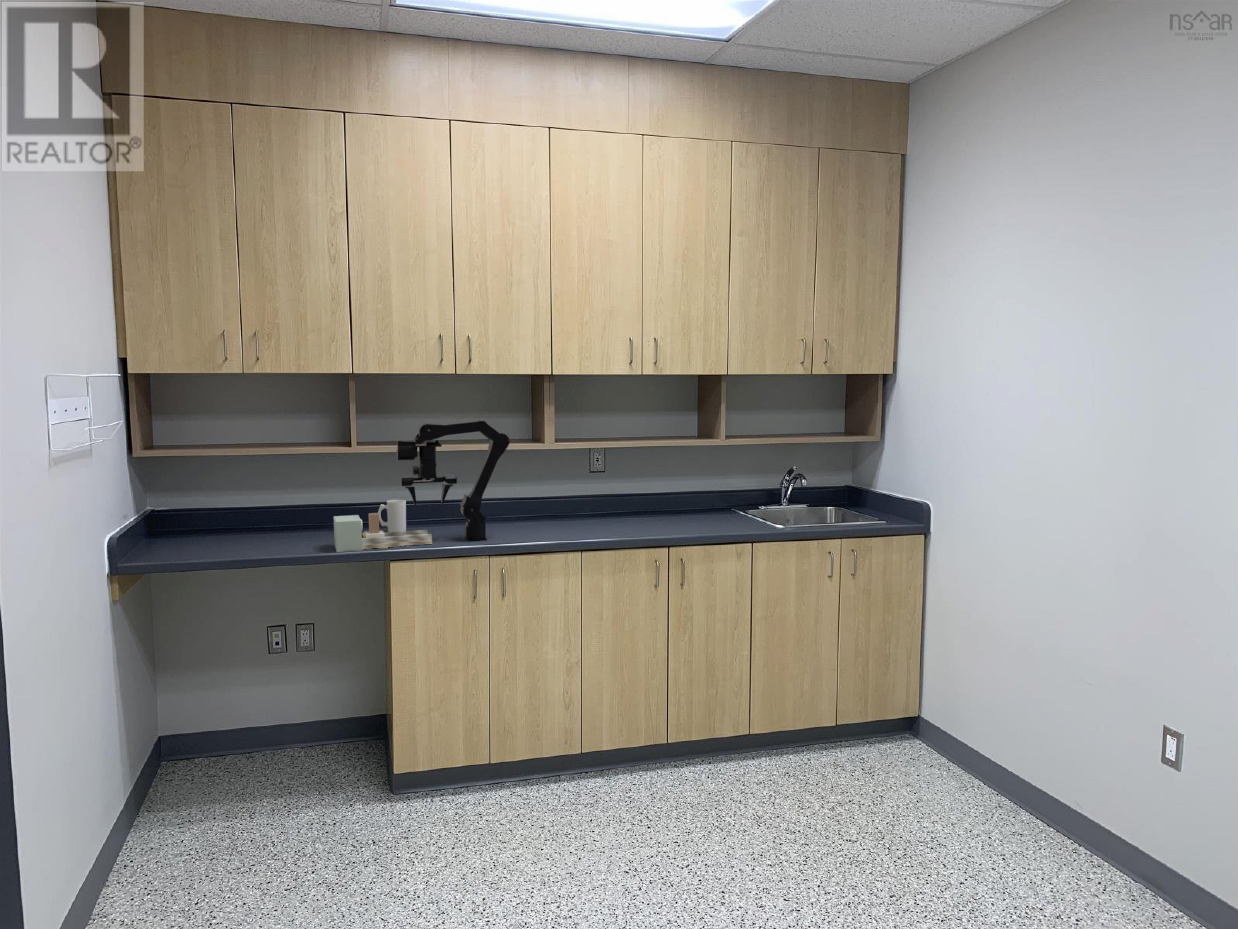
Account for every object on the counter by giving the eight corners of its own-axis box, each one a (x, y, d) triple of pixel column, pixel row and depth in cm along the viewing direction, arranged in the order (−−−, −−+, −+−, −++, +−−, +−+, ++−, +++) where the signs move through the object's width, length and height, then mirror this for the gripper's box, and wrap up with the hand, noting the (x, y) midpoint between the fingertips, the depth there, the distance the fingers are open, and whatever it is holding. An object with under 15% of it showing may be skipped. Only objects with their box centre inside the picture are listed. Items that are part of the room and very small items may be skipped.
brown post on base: (382, 539, 286) (381, 512, 285) (384, 542, 280) (383, 514, 279) (364, 540, 284) (363, 513, 283) (366, 543, 278) (365, 515, 277)
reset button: (364, 540, 283) (364, 532, 283) (365, 543, 279) (365, 535, 278) (346, 541, 281) (346, 534, 281) (347, 544, 276) (347, 536, 276)
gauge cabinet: (360, 543, 286) (359, 514, 285) (363, 550, 275) (362, 520, 274) (334, 545, 283) (333, 516, 282) (336, 552, 272) (335, 522, 271)
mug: (407, 531, 309) (406, 499, 308) (406, 534, 302) (405, 502, 301) (379, 532, 307) (378, 500, 306) (377, 535, 300) (376, 502, 299)
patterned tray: (427, 539, 294) (427, 529, 293) (432, 544, 284) (432, 534, 284) (359, 544, 285) (359, 534, 285) (362, 549, 276) (361, 539, 276)
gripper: (450, 456, 297) (451, 500, 299) (396, 458, 290) (398, 503, 292) (456, 459, 287) (457, 504, 288) (401, 461, 280) (402, 507, 281)
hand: (428, 504), depth 288 cm, fingers open, 9 cm apart
